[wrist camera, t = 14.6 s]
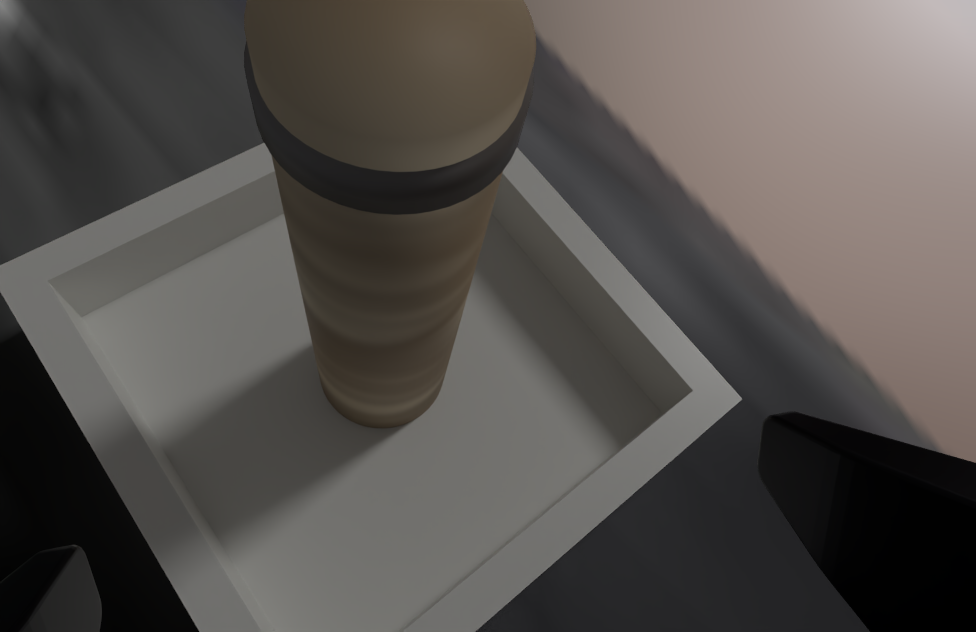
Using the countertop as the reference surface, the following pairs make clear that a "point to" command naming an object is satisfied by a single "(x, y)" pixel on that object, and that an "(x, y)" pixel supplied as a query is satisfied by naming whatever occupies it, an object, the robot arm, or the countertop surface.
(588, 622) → the countertop surface
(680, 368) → the tray
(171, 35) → the countertop surface
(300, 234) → the pin
